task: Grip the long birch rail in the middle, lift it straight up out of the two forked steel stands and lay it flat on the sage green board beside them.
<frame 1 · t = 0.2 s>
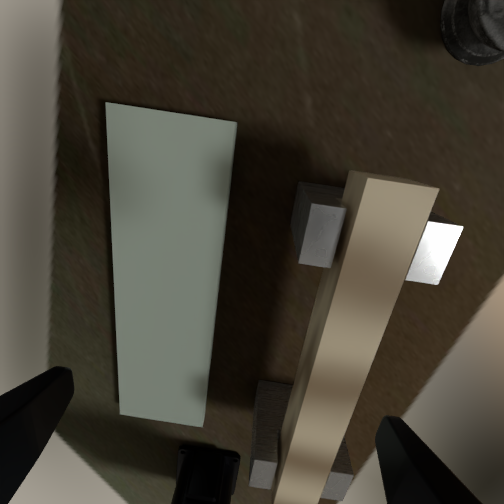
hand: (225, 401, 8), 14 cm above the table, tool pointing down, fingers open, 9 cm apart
birch rail: (323, 356, 19), point 4 cm above the table, touching steel stands
sage board: (168, 294, 23), on the table
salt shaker: (490, 9, 16), on the table
steel stands: (314, 317, 23), on the table
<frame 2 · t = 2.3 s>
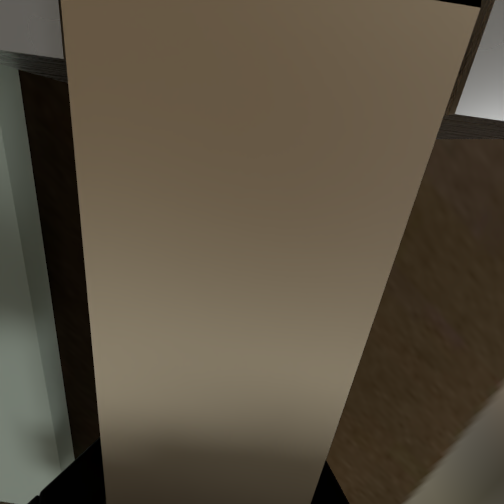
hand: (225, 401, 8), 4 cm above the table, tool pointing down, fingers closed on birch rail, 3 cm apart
birch rail: (223, 416, 8), point 4 cm above the table, touching gripper, steel stands
steel stands: (239, 319, 12), on the table
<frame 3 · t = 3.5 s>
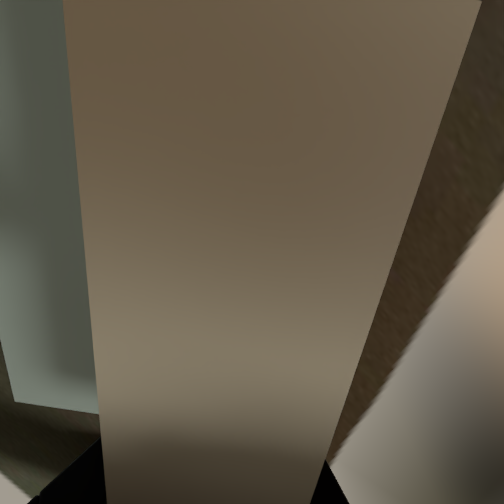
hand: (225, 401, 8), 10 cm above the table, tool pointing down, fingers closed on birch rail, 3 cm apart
birch rail: (223, 416, 8), point 10 cm above the table, touching gripper
sage board: (54, 236, 18), on the table
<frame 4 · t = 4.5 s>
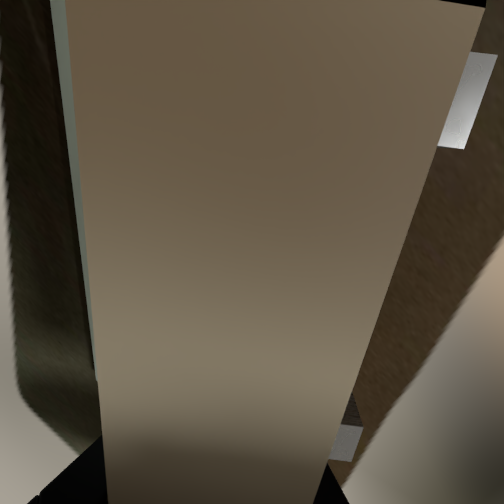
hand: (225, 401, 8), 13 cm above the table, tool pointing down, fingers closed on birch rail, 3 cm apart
birch rail: (224, 416, 8), point 13 cm above the table, touching gripper
sage board: (142, 232, 20), on the table
steel stands: (311, 252, 20), on the table
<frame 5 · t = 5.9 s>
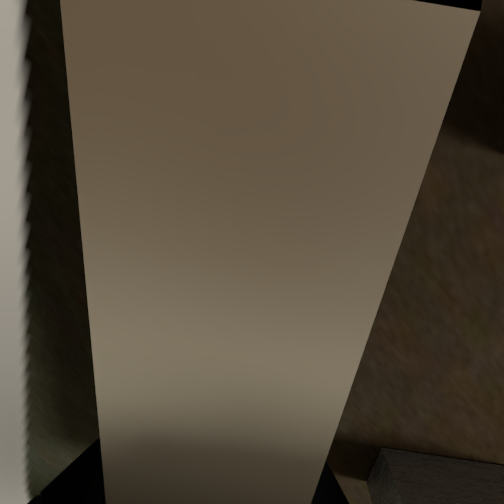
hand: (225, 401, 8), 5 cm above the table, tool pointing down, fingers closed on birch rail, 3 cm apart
birch rail: (223, 415, 8), point 5 cm above the table, touching gripper
when the fingers open (2 cm above the table, at t = 6.8 s): birch rail drops 1 cm, resting on sage board.
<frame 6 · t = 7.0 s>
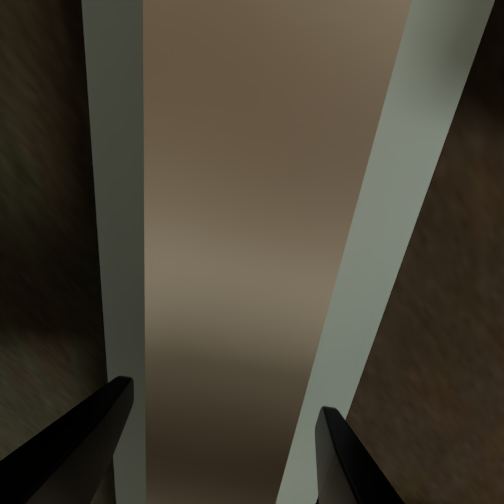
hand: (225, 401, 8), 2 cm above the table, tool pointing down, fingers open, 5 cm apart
birch rail: (230, 373, 9), point 1 cm above the table, touching sage board
sage board: (233, 352, 10), on the table
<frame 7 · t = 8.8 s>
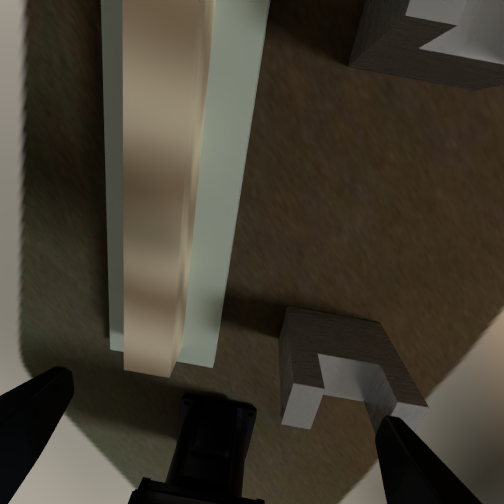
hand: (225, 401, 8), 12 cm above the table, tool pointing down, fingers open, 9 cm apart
birch rail: (172, 182, 17), point 1 cm above the table, touching sage board
sage board: (177, 180, 18), on the table
steel stands: (366, 215, 18), on the table
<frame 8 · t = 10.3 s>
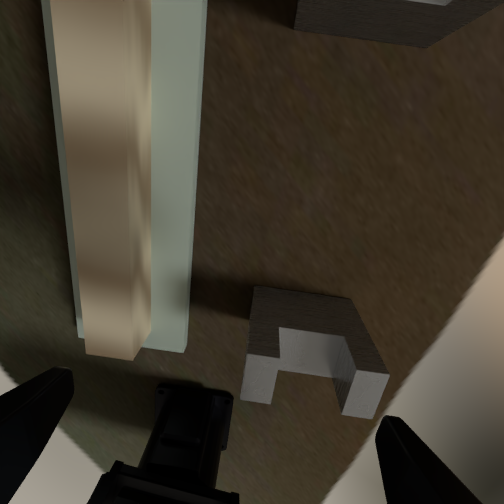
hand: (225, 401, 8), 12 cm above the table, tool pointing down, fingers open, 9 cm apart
birch rail: (125, 158, 17), point 1 cm above the table, touching sage board
sage board: (133, 157, 18), on the table
steel stands: (327, 185, 18), on the table
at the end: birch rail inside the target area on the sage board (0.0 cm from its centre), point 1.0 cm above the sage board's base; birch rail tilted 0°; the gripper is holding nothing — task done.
